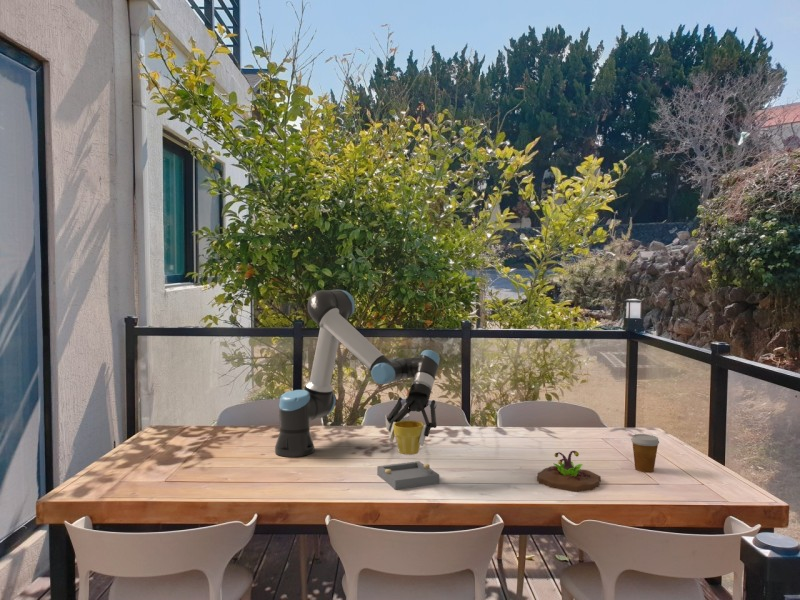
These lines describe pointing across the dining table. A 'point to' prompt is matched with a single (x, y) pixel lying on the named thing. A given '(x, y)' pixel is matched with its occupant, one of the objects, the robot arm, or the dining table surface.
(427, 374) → the robot arm
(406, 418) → the teacup
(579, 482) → the plant
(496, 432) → the dining table surface
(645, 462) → the disposable coffee cup
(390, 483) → the base
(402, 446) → the plant pot
